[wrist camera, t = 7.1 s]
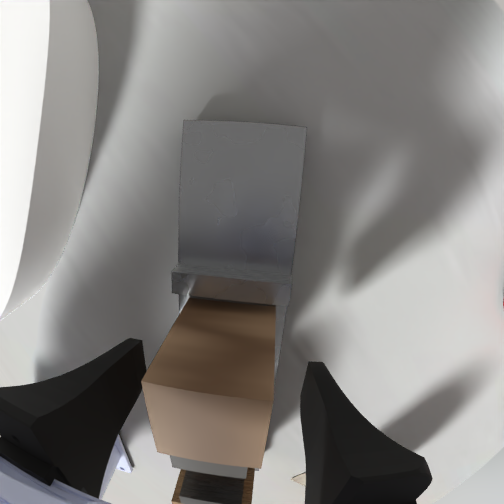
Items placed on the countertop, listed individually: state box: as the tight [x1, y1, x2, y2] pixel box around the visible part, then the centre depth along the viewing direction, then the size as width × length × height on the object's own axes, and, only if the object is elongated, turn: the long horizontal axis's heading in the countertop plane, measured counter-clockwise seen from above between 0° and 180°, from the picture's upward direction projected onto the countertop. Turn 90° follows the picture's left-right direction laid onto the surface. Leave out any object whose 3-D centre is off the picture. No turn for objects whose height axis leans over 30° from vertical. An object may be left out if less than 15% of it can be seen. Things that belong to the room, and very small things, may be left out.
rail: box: [172, 120, 307, 504], centre depth 13 cm, size 5×22×8 cm, turn 176°
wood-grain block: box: [141, 298, 276, 479], centre depth 12 cm, size 4×5×6 cm
